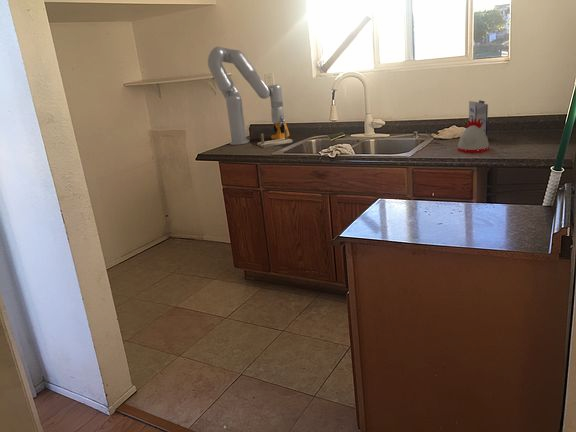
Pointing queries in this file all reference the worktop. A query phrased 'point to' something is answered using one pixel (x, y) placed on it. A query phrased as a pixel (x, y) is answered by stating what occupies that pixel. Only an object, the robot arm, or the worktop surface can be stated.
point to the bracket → (279, 132)
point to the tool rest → (274, 142)
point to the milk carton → (479, 113)
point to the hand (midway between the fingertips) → (279, 132)
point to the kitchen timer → (473, 139)
